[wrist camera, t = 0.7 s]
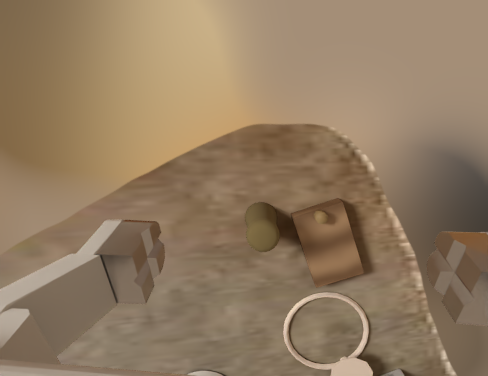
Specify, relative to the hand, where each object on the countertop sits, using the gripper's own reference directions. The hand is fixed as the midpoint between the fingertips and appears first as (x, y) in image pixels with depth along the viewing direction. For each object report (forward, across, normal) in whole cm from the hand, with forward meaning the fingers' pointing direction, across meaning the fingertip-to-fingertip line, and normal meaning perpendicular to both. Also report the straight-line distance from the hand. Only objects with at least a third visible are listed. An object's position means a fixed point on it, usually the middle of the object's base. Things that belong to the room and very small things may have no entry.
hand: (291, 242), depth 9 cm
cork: (+38, -2, -26) cm, 45 cm away
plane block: (+37, +10, -30) cm, 48 cm away
